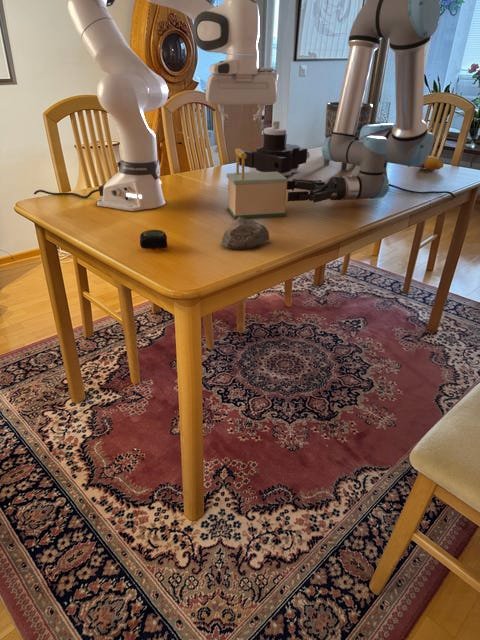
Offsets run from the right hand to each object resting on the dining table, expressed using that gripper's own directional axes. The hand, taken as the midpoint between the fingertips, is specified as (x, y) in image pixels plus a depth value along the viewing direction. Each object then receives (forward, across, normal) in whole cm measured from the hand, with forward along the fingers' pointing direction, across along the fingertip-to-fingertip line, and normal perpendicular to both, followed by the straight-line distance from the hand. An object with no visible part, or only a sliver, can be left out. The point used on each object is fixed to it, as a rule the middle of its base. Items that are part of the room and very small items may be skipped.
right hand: (280, 191), depth 144 cm
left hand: (+13, 0, -21) cm, 25 cm away
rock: (+18, +27, +7) cm, 33 cm away
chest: (+8, 0, +7) cm, 10 cm away
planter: (-51, -62, +7) cm, 80 cm away
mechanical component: (-18, -53, +7) cm, 57 cm away
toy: (-89, -51, +7) cm, 103 cm away
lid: (+8, 0, -4) cm, 9 cm away
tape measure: (+42, +25, +7) cm, 50 cm away
